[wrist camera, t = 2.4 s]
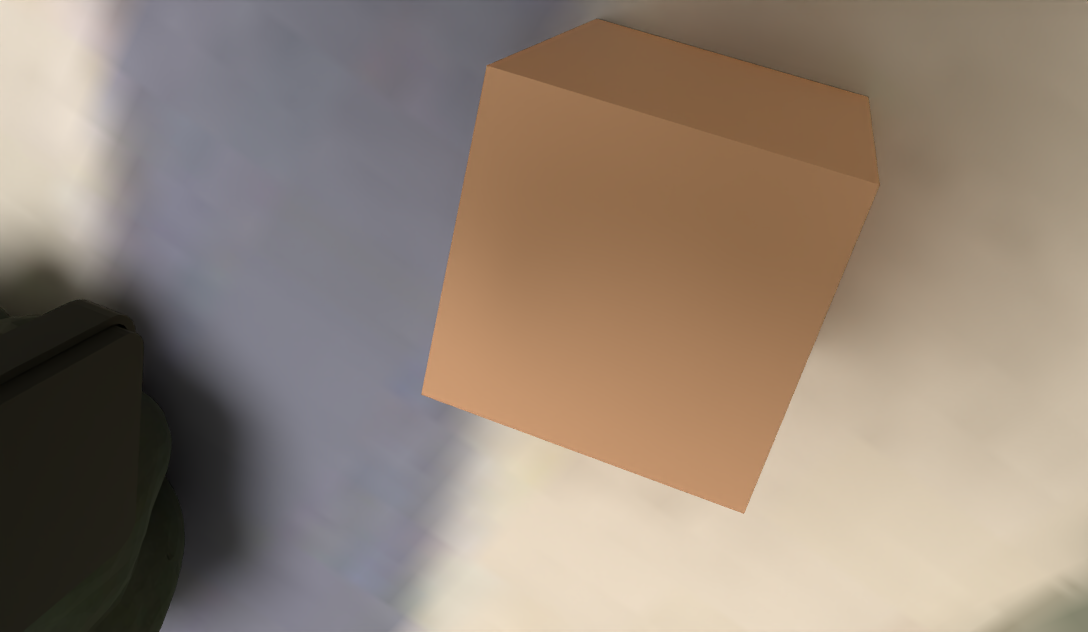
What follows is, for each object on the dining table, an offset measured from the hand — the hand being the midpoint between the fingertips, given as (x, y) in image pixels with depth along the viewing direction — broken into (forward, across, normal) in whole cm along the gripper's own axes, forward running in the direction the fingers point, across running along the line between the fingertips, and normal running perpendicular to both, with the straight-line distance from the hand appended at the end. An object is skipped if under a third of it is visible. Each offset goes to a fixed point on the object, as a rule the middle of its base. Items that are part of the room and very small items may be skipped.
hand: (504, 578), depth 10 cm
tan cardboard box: (+15, 0, 0) cm, 15 cm away
